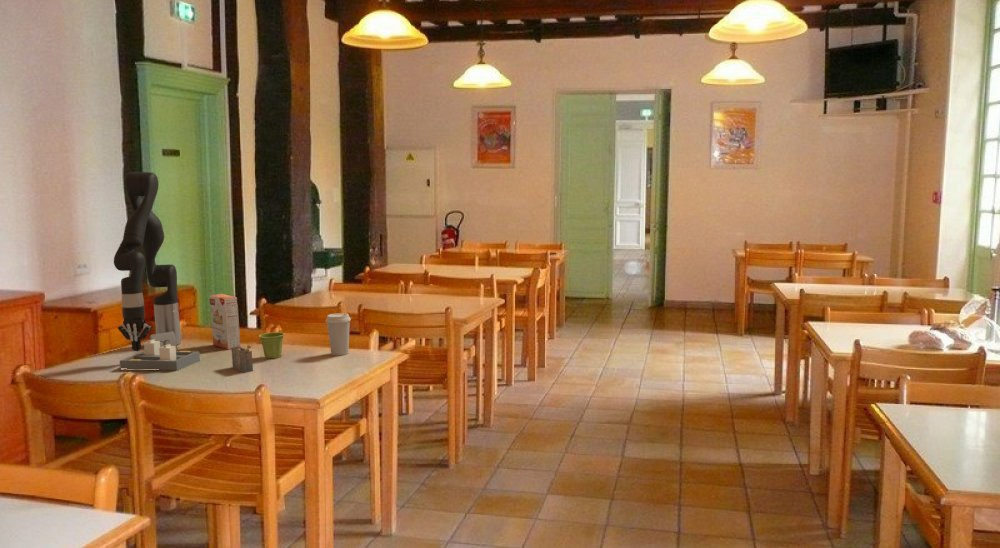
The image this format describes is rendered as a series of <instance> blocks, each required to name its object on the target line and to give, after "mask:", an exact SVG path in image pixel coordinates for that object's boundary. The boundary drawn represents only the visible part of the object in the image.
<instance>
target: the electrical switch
mask: <svg viewBox="0 0 1000 548" xmlns="http://www.w3.org/2000/svg"><path fill="white" fill-rule="evenodd" d="M152 339H155V341H160V348H161V347H163V346H164V345H167V344H171V346H176V351H179V350H178V345H177V344H176V339H175V333H174V332H166V333H160V334H156V333H155V334H150V335H149V340H152Z"/></svg>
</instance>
